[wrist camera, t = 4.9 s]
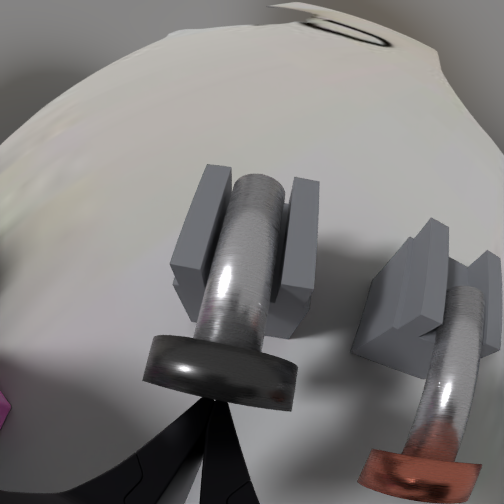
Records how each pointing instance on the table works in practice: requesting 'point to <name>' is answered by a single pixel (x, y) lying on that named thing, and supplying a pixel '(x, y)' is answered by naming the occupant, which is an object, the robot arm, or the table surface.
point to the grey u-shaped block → (288, 254)
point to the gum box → (3, 408)
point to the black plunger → (234, 312)
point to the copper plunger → (438, 413)
